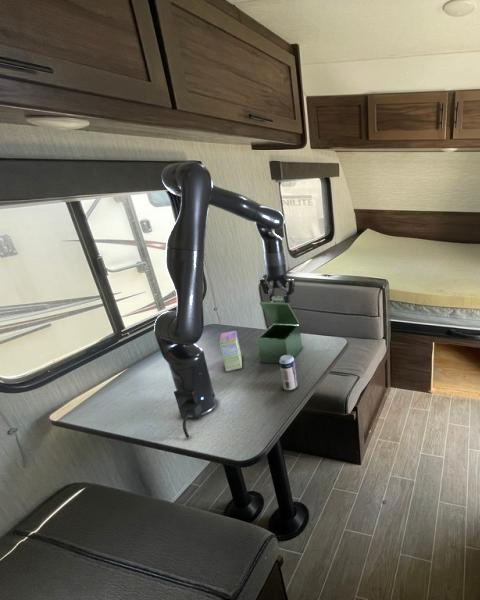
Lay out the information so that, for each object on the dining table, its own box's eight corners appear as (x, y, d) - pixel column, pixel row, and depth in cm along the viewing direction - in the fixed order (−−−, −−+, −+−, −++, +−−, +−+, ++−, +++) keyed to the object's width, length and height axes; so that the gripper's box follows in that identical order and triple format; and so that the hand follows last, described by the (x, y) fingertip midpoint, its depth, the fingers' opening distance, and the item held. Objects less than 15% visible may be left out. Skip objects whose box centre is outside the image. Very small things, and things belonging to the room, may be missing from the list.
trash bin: (288, 364, 127) (285, 339, 124) (261, 362, 129) (256, 338, 125) (302, 347, 140) (299, 324, 136) (276, 345, 141) (273, 323, 137)
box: (226, 358, 131) (220, 333, 127) (241, 355, 133) (236, 330, 129) (225, 372, 122) (219, 344, 118) (241, 368, 124) (236, 341, 120)
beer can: (300, 387, 113) (296, 357, 109) (287, 393, 110) (282, 362, 106) (293, 381, 117) (289, 352, 112) (281, 386, 113) (276, 357, 109)
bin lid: (287, 304, 124) (291, 294, 127) (259, 303, 126) (263, 292, 129) (299, 324, 136) (302, 314, 139) (273, 323, 137) (277, 313, 140)
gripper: (252, 264, 122) (258, 306, 128) (288, 265, 121) (293, 307, 126) (262, 260, 129) (268, 299, 135) (296, 261, 128) (301, 301, 133)
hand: (280, 303), depth 131 cm, fingers closed on bin lid, 5 cm apart
